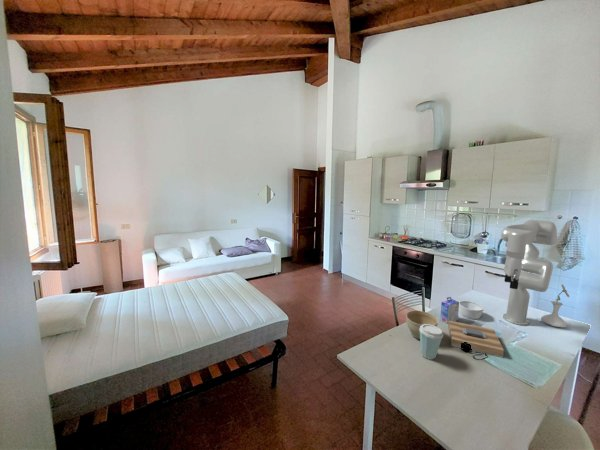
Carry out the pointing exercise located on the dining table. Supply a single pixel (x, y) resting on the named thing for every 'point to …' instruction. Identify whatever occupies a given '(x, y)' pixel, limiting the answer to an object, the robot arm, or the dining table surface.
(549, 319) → the flower in vase
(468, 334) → the flanged block
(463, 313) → the ramekin
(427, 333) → the disposable coffee cup
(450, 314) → the ink cartridge box
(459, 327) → the wooden board
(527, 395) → the dining table surface
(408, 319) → the planter bowl
